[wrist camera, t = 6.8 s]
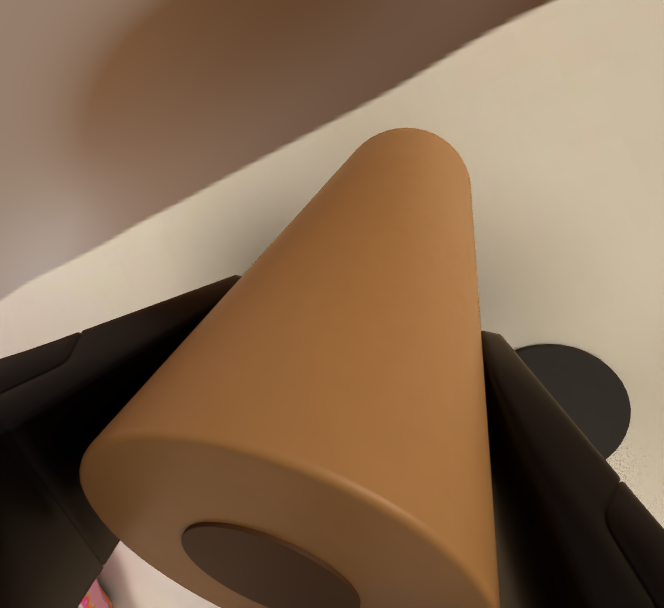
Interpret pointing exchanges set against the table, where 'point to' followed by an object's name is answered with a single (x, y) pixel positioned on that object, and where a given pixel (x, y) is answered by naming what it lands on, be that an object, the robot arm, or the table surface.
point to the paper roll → (325, 410)
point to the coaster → (583, 392)
